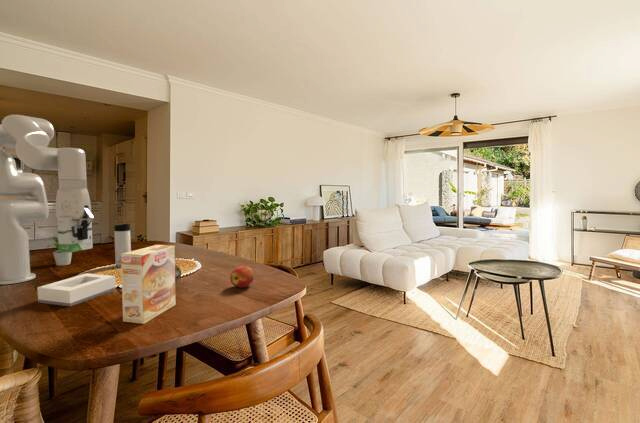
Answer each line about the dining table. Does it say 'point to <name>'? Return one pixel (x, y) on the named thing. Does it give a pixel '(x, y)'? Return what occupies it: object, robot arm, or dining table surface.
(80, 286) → the holder block
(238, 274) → the apple
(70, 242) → the ink box
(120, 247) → the travel mug
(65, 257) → the house plant
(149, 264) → the coffeecake box
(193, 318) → the dining table surface
